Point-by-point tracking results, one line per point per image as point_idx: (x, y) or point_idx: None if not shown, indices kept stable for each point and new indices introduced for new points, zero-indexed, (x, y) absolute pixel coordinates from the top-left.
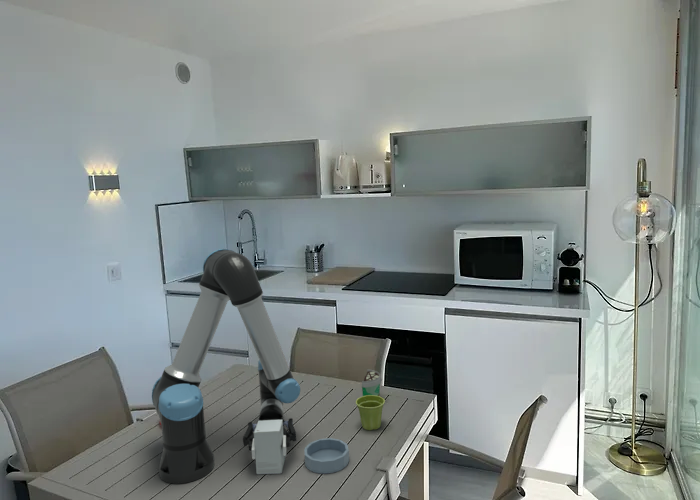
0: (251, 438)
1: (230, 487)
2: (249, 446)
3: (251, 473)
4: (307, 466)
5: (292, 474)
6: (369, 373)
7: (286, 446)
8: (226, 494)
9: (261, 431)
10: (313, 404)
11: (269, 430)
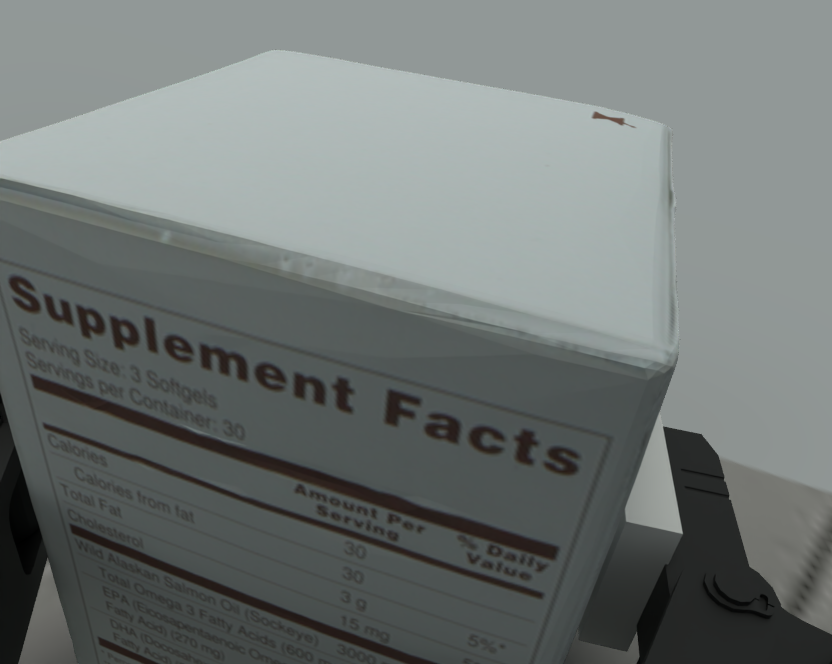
0: (718, 566)
1: (748, 528)
2: (692, 437)
3: (582, 655)
4: None
5: None
6: None
7: None
8: (750, 467)
9: (543, 97)
10: None
11: (411, 79)
